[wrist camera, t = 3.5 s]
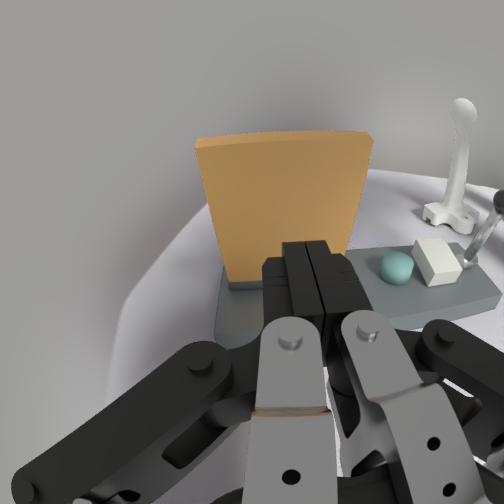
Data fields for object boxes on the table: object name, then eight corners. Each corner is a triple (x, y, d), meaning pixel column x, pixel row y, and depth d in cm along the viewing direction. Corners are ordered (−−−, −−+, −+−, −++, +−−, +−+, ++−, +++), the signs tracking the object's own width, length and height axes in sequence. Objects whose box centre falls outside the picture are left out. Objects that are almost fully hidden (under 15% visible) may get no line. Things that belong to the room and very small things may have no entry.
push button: (402, 264, 24) (405, 250, 23) (414, 283, 22) (419, 268, 21) (375, 266, 24) (378, 252, 23) (386, 286, 22) (390, 271, 21)
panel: (452, 256, 28) (457, 242, 27) (495, 308, 19) (502, 293, 18) (227, 273, 29) (224, 257, 28) (218, 349, 21) (213, 333, 20)
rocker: (437, 250, 24) (443, 237, 23) (455, 282, 21) (462, 269, 20) (410, 252, 24) (416, 239, 23) (427, 286, 21) (435, 273, 20)
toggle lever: (466, 256, 23) (510, 185, 15) (473, 272, 22) (522, 203, 14) (448, 258, 23) (492, 183, 15) (455, 275, 22) (506, 202, 14)
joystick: (462, 213, 38) (476, 103, 27) (488, 234, 31) (508, 112, 21) (417, 214, 38) (429, 89, 27) (443, 238, 31) (463, 94, 21)
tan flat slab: (333, 271, 24) (366, 129, 13) (336, 286, 23) (377, 144, 12) (230, 277, 24) (196, 136, 13) (230, 293, 23) (191, 151, 12)
